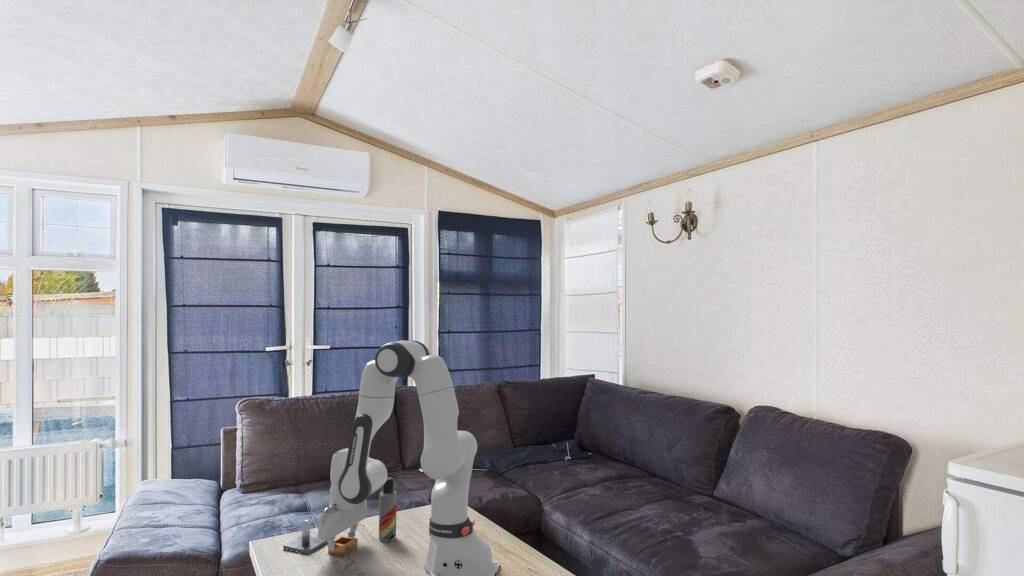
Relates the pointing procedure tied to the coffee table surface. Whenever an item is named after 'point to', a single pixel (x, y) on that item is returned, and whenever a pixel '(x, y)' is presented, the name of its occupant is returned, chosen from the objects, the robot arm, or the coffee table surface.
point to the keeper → (305, 541)
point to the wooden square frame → (344, 545)
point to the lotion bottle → (387, 512)
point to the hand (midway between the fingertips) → (342, 543)
